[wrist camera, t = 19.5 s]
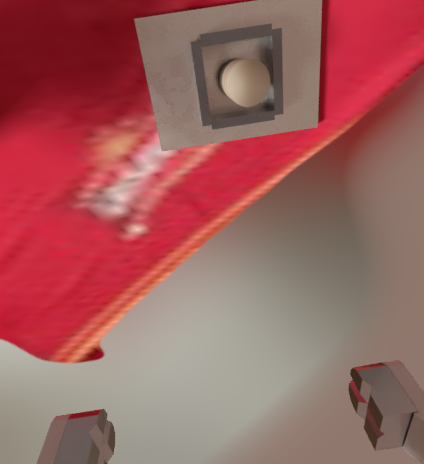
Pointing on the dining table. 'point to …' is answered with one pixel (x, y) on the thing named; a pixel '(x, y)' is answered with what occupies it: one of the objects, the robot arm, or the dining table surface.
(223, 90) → the disc
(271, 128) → the grey block with recess
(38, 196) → the dining table surface
